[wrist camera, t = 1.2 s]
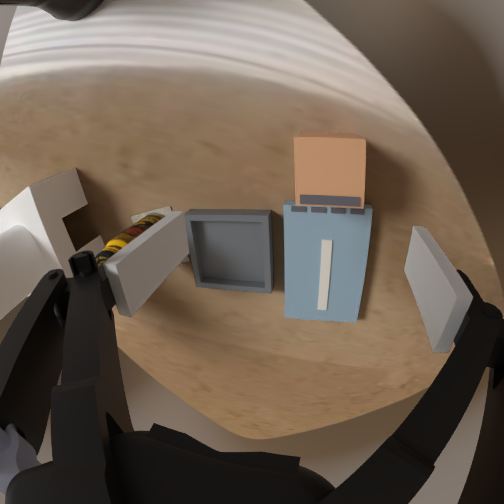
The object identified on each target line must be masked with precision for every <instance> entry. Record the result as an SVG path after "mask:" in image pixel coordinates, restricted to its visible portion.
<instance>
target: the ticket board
mask: <svg viewBox="0 0 504 504" xmlns="http://www.w3.org/2000/svg"><path fill="white" fill-rule="evenodd" d="M283 209H284V260H285V318H295V319H309V320H323V321H341V322H357V317H358V312H359V307H360V301H361V296H362V290H363V284H364V277H365V271H366V264H367V256H368V248H369V240H370V231H371V221H372V210H373V209H372V207H371V204H364V208H347V207H326V206H300V205H296V201H285V202H284V205H283Z"/></svg>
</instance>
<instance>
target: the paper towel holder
mask: <svg viewBox="0 0 504 504" xmlns="http://www.w3.org/2000/svg"><path fill="white" fill-rule="evenodd" d="M87 204H88V203H87V200H86V197H85V194H84V192H83V189H82V186H81V183H80V180H79V177H78V174H77V171H76V168H72V169H70V170H67V171H64V172H62V173H59V174H57V175H54V176H52V177H49V178H47V179H44V180H42V181H39V182H37V183H35V184H32V185H30V186H28V187H27V188H26V189H25V190H23V191H22V192H21V193H20V194H18V195H17V196H16V197H15V198H14V199H12V200H11V201H10V202H9V203H8V204H7V205H6V206H4V207H3V208H2V209H1V210H0V320H1V319H2V318H3V317H4V316H5V315H6V314H7V313H8V312H9V311H11V310H12V309H13V308H14V307H15V306H16V305H17V304H18V303H20V302H21V301H22V300H23V299H24V298H26V297H27V296H28V297H29V296H30V294H31V293H32V291H33V290H34V288H35V287H36V286H37V284H38V283H39V281H40V280H41V278H42V277H43V276H44V275H45V274H46V273H48V271H50V270H53V269H54V270H55V269H62V270H63V271H64V274H65V276H66V278H71V277H73V273H72V271H71V268H70V265H69V261H68V260H69V258H70V257H71V256H72V255H74V254H76V253H78V252H81V251H86V250H89V251H93V253H94V256H96V255H97V254H98V253H100V252H101V251H102V250H103V249H104V248H105V245H104V242H103V240H102V238H101V235H100V236H98V237H97V238H95V239H94V240H92V241H91V242H89V243H88V244H86V245H85V246H84V247H82V248H81V249H79V250H78V251H77V252H76V251H75V248H74V246H73V244H72V242H71V239H70V237H69V235H68V232H67V230H66V227H65V225H64V223H63V220H62V218H63V217H65V216H67V215H69V214H70V213H72V212H74V211H76V210H78V209H80V208H81V207H83V206H85V205H87Z"/></svg>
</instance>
